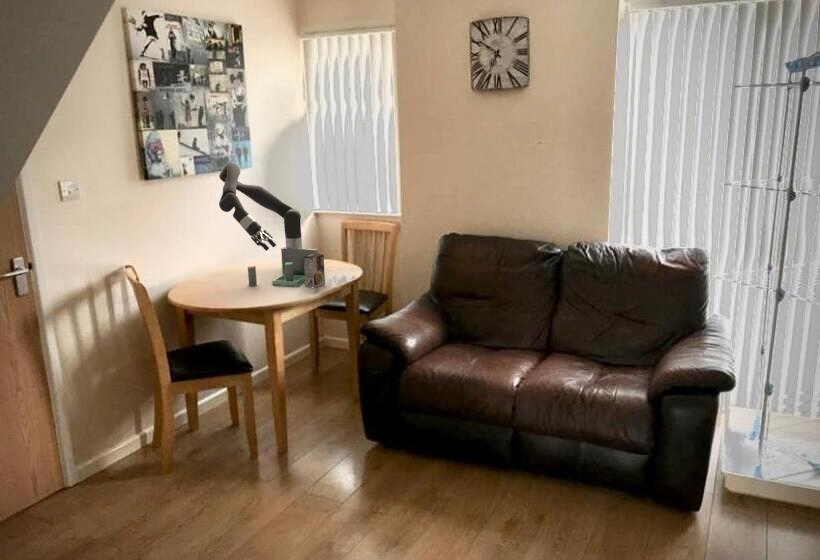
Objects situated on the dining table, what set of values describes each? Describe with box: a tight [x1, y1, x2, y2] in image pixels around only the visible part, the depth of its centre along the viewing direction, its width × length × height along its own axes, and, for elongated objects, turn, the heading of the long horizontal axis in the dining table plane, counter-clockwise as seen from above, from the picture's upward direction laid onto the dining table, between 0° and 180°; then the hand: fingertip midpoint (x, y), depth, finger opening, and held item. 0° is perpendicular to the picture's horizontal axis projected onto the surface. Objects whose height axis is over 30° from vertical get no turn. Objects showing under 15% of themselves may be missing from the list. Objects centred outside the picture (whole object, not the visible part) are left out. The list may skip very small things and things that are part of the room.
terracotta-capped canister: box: [247, 265, 258, 286], centre depth 349 cm, size 4×4×10 cm
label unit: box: [280, 246, 319, 276], centre depth 363 cm, size 8×20×16 cm, turn 76°
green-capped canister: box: [285, 262, 294, 281], centre depth 353 cm, size 4×4×10 cm
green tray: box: [271, 273, 305, 287], centre depth 354 cm, size 14×14×2 cm
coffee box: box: [304, 252, 326, 289], centre depth 347 cm, size 9×6×16 cm
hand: (271, 247), depth 352 cm, fingers open, 8 cm apart
